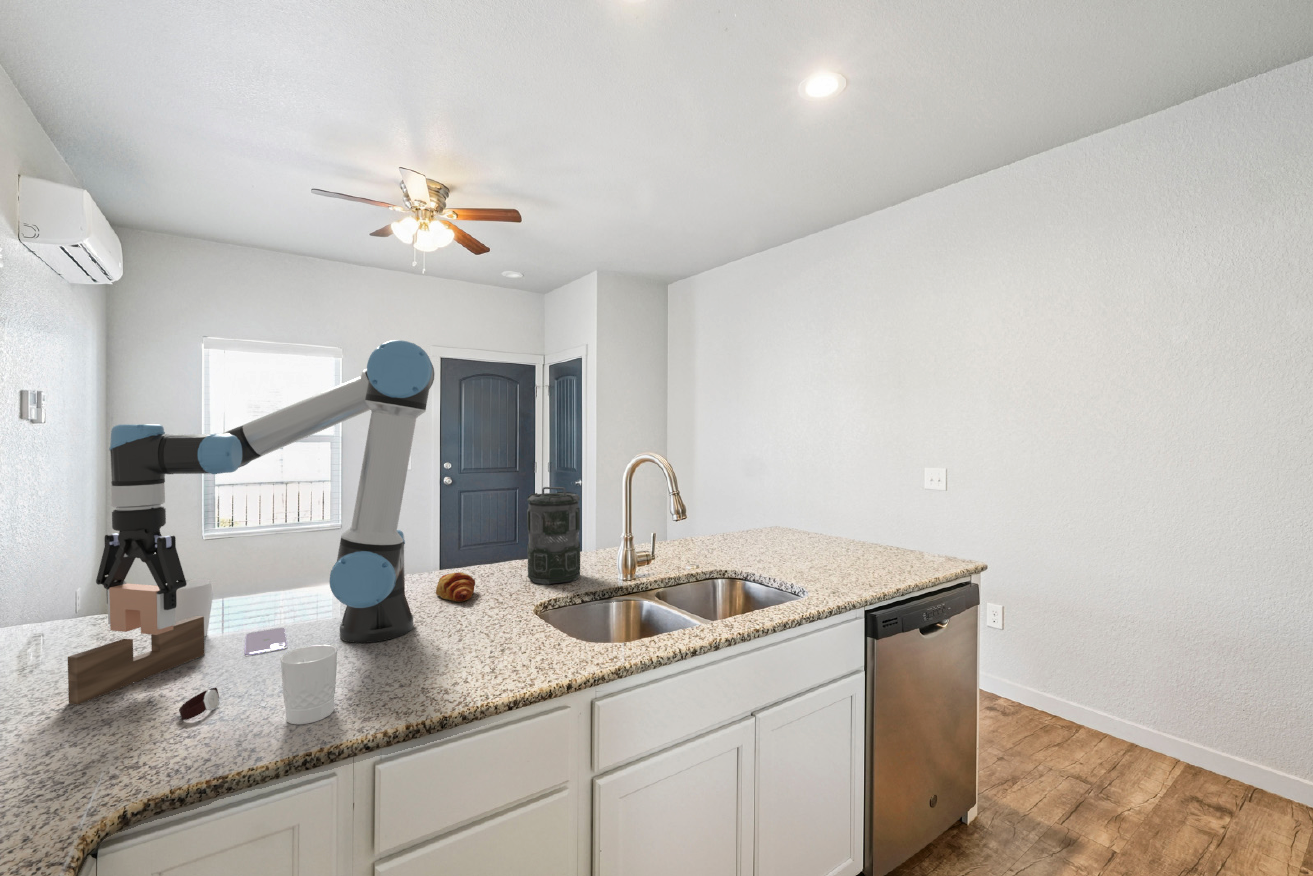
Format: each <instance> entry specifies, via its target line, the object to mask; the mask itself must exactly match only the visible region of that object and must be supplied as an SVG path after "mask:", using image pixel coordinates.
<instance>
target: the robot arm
mask: <svg viewBox="0 0 1313 876" xmlns="http://www.w3.org/2000/svg"><path fill="white" fill-rule="evenodd" d="M368 357H369V358H368V359H367V364H366V368H365V369H363V370H362V372H361V374H360V376H358V377H356V378H354V379H351V380H349V381H347V382H343V383H341V384H339V385H336V386H333V387H331V388H329V389H326V390H325V391H322V392H319V393H316V394H315V395H312V396H310V397H307V398H305V399H302V400H300V401H297V402H296V403H295V402H294V403H293V404H290V405H288V406H286V407H283V408H281V409H278V410H276V411H273V412H272V413H268V414H266V415H264V416H261V417H260V418H257V419H254V420H251V421H249V422H247V423H245V424H243V425H240V426H238V427H237V426H236V427H235V428H232V429H230V430H227V431H225V432H221V433H203V434H202V433H200V434H198V433H197V434H194V433H193V434H169V433H166V432H165V429H164V426H163V425H161V424H159V423H158V424H155V423H154V424H153V423H151V424H150V423H149V424H148V423H146V424H144V423H143V424H142V423H141V424H139V423H138V424H135V423H134V424H133V423H131V424H129V423H127V424H125V423H124V424H122V423H120V424H116V425H114V426H113V427H112V428H111V430H110V447H109V449H108V451H109V453H110V469H111V471H110V472H111V487H110V493H111V495H110V505H111V507H113V508H115V509H113V511H111V528H112V529H113V530H114V531H117V532H116V533H114V532H113V533H110V534H105V535H104V547H103V552H102V556H101V560H100V564H99V568H98V570H97V571H98V572H97V577H96V579H95V583H96V585H98V586H99V585H102V586H103V588H104V589H106V604H107V625H110V591H109V588H110V587H114V586H119V585H123V584H127V582H126V581H125V580H126V578H127V575H128V573H129V572H130V570H131V568H132V565H133V564H134V562H135V560H136V558H137V559H140V561H141V562H142V563H145V564H146V566H147V568H148V570H149V572H150V574H151V577H152V578H153V579H154V582H155V584H156V586H158V587H159V589H160V590H159V591H158V592H157V594H156V595H157V629H163V628H166V627H169V626H172V625H175V624H176V622H175V608H176V605H177V602H176V591H177V589H179V588H182V587H185V586H186V578H185V573H184V571H183V567H182V564H181V560H180V556H179V553H178V551H177V546H176V540H177V539H176V536H175V535H174V534H171V535H165V536H163V535H162V533H161V528H162V527H165V525H166V523H167V521H166V520H167V519H166V518H167V516H166V515H167V514H166V512H167V511H166V510H167V509H166V507H165V506H164V504H165V503H166V496H165V495H166V493H165V491H166V488H165V483H166V479H165V477H166V475H185V474H186V475H189V474H191V475H199V474H200V475H201V474H204V475H205V474H207V475H208V474H211V475H218V474H224V473H225V474H227V473H228V474H229V473H233V472H236V471H237V470H238V469H240V468H242V467H244V466H246V465H248V464H249V463H251V462H252V461H255V460H257V459H259V458H261V457H264V456H266V455H268V454H271V453H273V452H275V451H277V450H279V449H282V448H285V447H286V446H288V445H291V444H294V443H297V442H298V441H301V440H303V439H306V438H308V437H310V436H313V435H315V434H317V433H319V432H322V431H325V430H326V429H328V428H329V429H330V428H331V427H333V426H336V425H338V424H340V423H342V422H345V421H347V420H350V419H352V418H354V417H357V416H359V415H362V414H364V413H367V412H369V411H371V413H370V419H369V424H368V430H367V436H366V440H365V447H364V452H363V453H364V454H363V459H362V465H361V470H360V476H359V481H358V486H357V491H356V492H357V493H356V499H355V505H354V510H353V515H352V520H351V521H352V522H351V527H350V528H349V529H347V530H346V531H344V532H343V533H342V534H341V536H340V540H339V541H340V542H339V546H338V547H339V548H338V552H337V558H336V562H335V563H334V565H333V566H332V569H330V574H329V588H330V591H331V593H332V595H333V597H335V598H336V600H338V602H340V603H342V604H343V605H345V606H346V607H345V610H344V613H343V616H342V620H341V622H340V626H339V637H340V639H341V640H342V641H346V642H350V643H359V644H361V643H363V644H364V643H376V642H381V641H386V640H392V639H394V638H397V637H398V638H399V637H400V636H403V635H405V634H407V633H409V632H410V631H412V630H413V629H414V616H413V614H412V611H411V608H410V606H409V605H410V604H409V602H408V600H407V597H406V591H405V590H406V589H405V583H406V582H405V580H406V579H405V544H406V541H405V535H404V532H403V531H402V530H401V529H398V527H399V520H400V515H401V510H402V502H403V497H404V493H405V484H406V480H407V474H408V469H409V468H408V467H409V464H410V463H409V462H410V457H411V451H412V445H413V440H414V439H413V438H414V433H415V428H416V423H417V422H416V421H417V419H418V417H420V416H422V415H423V414H424V413H426V410H427V405H428V399H429V392H430V389H431V387H432V386H433V384H434V381H435V368H434V365H433V363H432V360H431V358H430V357H429V355H428V353H427V352H426V351H425V349H423V348H422V347H421V346H419V345H417V344H416V343H413V342H410V341H407V340H401V339H396V340H395V339H393V340H389V341H386V342H384V343H381V344H380V345H378V346H377V347H375V349H374V350H373V351H372V352H371V353H370V355H369V356H368Z"/></svg>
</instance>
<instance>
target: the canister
mask: <svg viewBox="0 0 1313 876" xmlns="http://www.w3.org/2000/svg"><path fill="white" fill-rule="evenodd" d="M545 490H562V491H557V492H547V493H545ZM566 490H567V489H566V488H565V487H564V486H563V487H562V486H561V487H560V486H544V487H542V489H541V493H537V492H535V493H532V494H529V495H528V496H527V499H526V501H527V502H528V509H527V514H526V516H527V517H526V518H527V519H526V521H527V522H526V523H527V525H526V526H527V532H528V543H527V545H526V546H527V578H528V579H529V580H530V581H531V580H532V581H533V583H534V584H538V585H548V586H549V585H551V584H562V583H568V582H571V583H572V582H574V581H576V580H578V579H579V578H580V576H581V543H580V536H579V534H580V533H579V531H580V530H581V527H580V526H581V525H580V523H581V522H580V519H581V517H580V516H581V515H580V514H581V513H580V511H581V510H580V509H581V508H580V507H579V501H580V499H581V497H580V495H579V494H578V493H576V494H575V493H574V492H572V491H570V492H569V491H566Z"/></svg>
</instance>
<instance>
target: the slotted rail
mask: <svg viewBox="0 0 1313 876" xmlns="http://www.w3.org/2000/svg"><path fill="white" fill-rule="evenodd" d="M150 640H151V641H150V642H151V643H150V644H151V646H150V649H151V650H150V651H147V652H145V653H142V654H138V655H136V656H134V639H132V638H123V639H122V638H121V639H120V640H116V641H112V642H108V643H106V644H104V645H100V646H97V647H94V648H91V649H87V650H84V651H81V652H78V653H75V654H72V655H69V656H67V682H68V683H67V684H68V685H67V688H68V690H67V691H68V704H69V705H75V706H76V705H77V706H79V705H81V704H84V703H86V702H89V701H92V700H94V699H96V698H99V697H102V696H104V695H106V694H109V693H112V692H114V691H117V690H119V689H122V688H124V687H127V686H129V685H132V684H134V683H133V682H135V683H137V682H139V681H142V680H145V679H147V678H149V677H153V676H155V675H158V674H160V673H163V672H166V671H167V670H170V669H173V668H175V667H178V666H181V665H183V664H186V663H188V662H191V661H193V659H194V660H196V659H198V658H200V657H203V655H204V656H206V654H205V637H204V616H193V617H190V618H187V619H184V620H181V621H178V622H176V624H175V625H173V630H170V631H167V632H164V633H161V634H158V635H151V634H150ZM144 678H145V679H144ZM111 691H112V692H111ZM88 700H89V701H88Z"/></svg>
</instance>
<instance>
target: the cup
mask: <svg viewBox="0 0 1313 876" xmlns="http://www.w3.org/2000/svg"><path fill="white" fill-rule="evenodd" d="M185 580H186V579H185ZM213 598H214V589H213V580H212V579H206V578H196V579H187V580H186V586H185V587H182V588H179V589H177V591H176V602H177V605H176V608H175V622H178V621H181V620H184V619H187V618H190V617H193V616H204V638H206V637H207V636H208V631H209V625H210V618H211V617H210V616H211V611H212V605H213Z"/></svg>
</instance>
